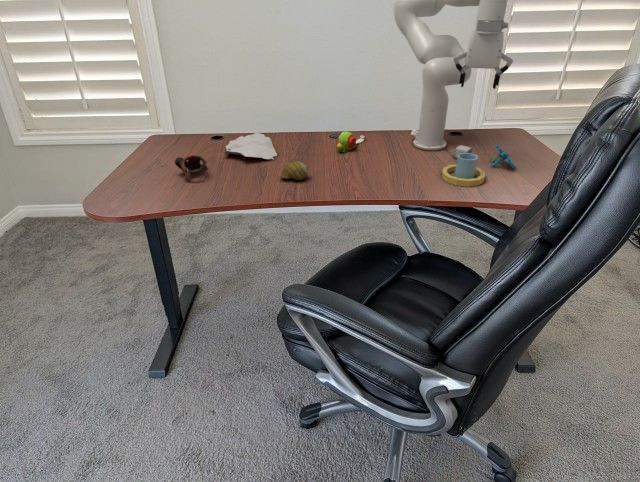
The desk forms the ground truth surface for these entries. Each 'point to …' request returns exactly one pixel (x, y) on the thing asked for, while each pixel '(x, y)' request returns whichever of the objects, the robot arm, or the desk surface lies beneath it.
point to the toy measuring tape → (348, 141)
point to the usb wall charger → (461, 150)
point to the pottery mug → (192, 166)
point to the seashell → (295, 171)
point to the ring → (461, 181)
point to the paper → (252, 146)
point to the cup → (466, 166)
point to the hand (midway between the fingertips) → (478, 87)
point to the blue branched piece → (502, 157)
